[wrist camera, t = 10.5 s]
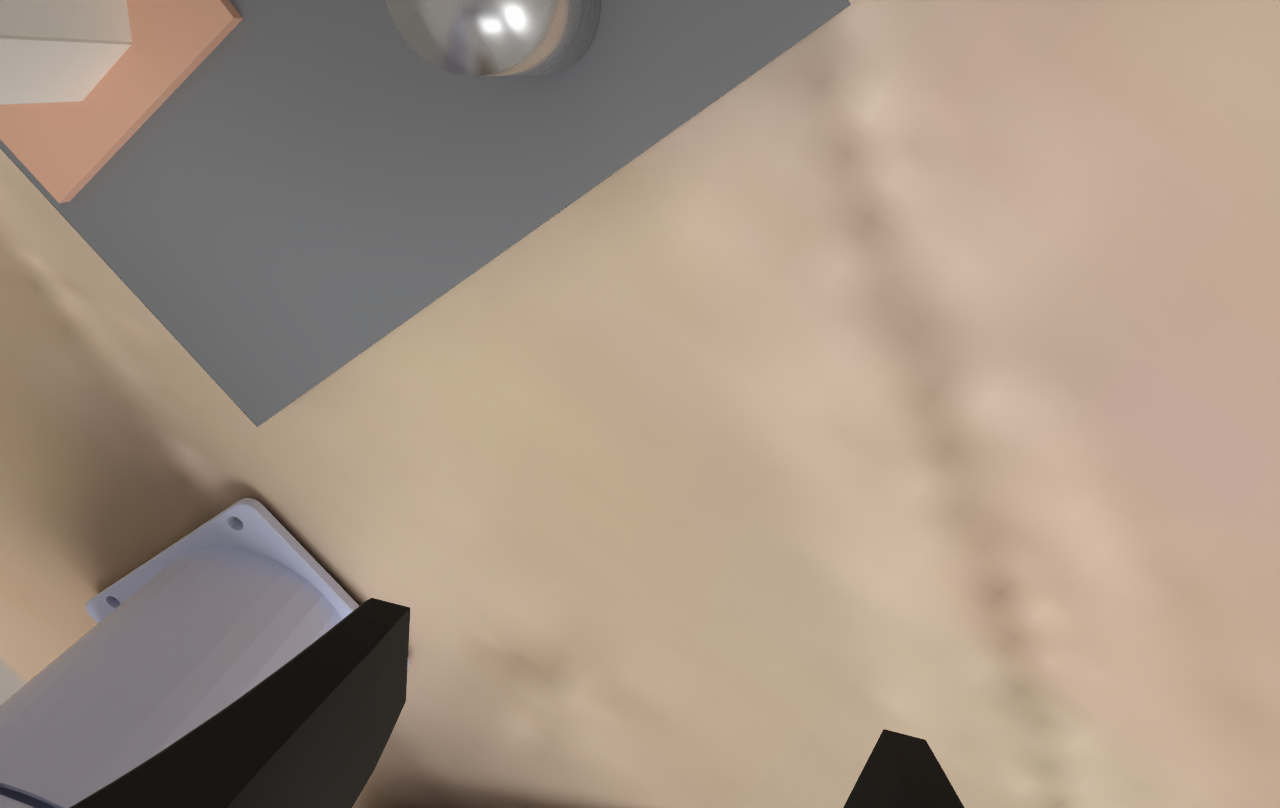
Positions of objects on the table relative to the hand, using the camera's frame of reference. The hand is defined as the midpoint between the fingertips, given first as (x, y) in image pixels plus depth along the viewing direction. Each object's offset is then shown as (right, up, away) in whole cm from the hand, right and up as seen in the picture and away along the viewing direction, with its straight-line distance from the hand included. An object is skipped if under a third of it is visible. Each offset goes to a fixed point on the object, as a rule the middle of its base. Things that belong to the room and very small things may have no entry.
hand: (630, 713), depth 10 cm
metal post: (-2, +13, +3) cm, 13 cm away
